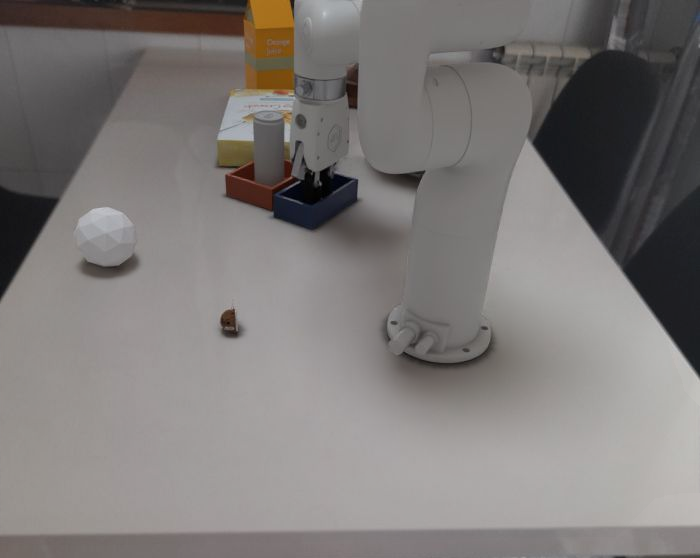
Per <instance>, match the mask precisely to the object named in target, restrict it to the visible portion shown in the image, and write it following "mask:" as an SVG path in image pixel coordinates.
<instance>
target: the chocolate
mask: <svg viewBox="0 0 700 558" xmlns="http://www.w3.org/2000/svg"><path fill="white" fill-rule="evenodd" d="M234 306H235V305H234V299H232V301H231V305H230V309H226V310H225V311H223V312H222V314H221V316H220V317H219V324H220V326H221V327H222V329H223V330H225V331H227V332H229V333H234V334H235V333H237V332H238V331H239V327H238V310H237V309H236V308H235V307H234Z"/></svg>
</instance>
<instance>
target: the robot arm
mask: <svg viewBox="0 0 700 558" xmlns="http://www.w3.org/2000/svg"><path fill="white" fill-rule="evenodd" d="M533 1H534V0H294V3H293V4H294V7H293V20H294V97H295V98H294V102H293V108H292V116H291V126H290V161H291V164H292V165H293V169H292V173H291V176H292V177H294V178H297V179H300V183H302V203H305V204H309V205H313V204H315V203H317V202H318V201H320V200H321V198H322V199H323V198H325V197H326V196H328V195H329V194H331V193H332V180H331V179H332V178H333V177H334V172H335V167H336V165H337V164H338V162H339V161H341V160H342V159H344V158H345V157H346V156H347V155H348V153H349V149H350V109H349V108H350V107H349V106H348V98H347V93H346V80H347V67H348V66H350V65H351V66H352V65H355V64H357V63H359V72H358V109H357V108H356V109H357V118H356V119H357V130H358V131H357V132H358V139H359V144H360V148H361V150H362V154H363V155H364V158H365V159H366V162H368V163H369V165H370V166H371V167H372V168H373V169H375V170H377V172H378V171H379V172H381V173H384V174H390V175H399V174H401V175H402V174H411V173H410V172H417V171H424V170H426V171H425V173H424V174H423V175H422V178H421V179H420V182H419V184H418V186H417V190H416V193H415V195H414V202H413V211H412V217H411V226H410V234H409V243H408V250H407V251H408V253H407V258H406V259H407V260H406V267H405V277H404V278H405V279H404V286H403V295H402V296H403V297H402V303H401V304H398V305H397V306H396V307H394V308H393V309H392V310H391V312H390V313H389V315H388V318H387V322H386V331H387V335H388V337H389V339H390V340H389V342H388V344H387V348H388V350H389V352H391V354H393V355H397V356H400V355H401V354H403V353H406V354H408V355H409V356H411V357H414V358H416V359H419V360H423V361H427V362H431V363H437V364H457V363H463V362H467V361H470V360H474V359H475V358H477V357H479V356H481V355H482V354H483V353H485V351H486V350H487V349H488V347H489V346H490V343H491V339H492V338H491V337H492V329H491V326H490V324H489V321H488V320H487V319H486V318H485V316H484V315H483V310H484V305H485V302H486V301H485V300H486V296H487V295H486V294H487V291H488V285H489V280H490V274H491V270H492V265H493V260H494V255H495V251H496V244H497V239H498V234H499V230H500V224H501V220H502V216H503V211H504V206H505V203H506V202H505V201H506V197H507V192H508V188H509V185H510V181H511V178H512V175H513V172H514V169H515V167H516V164H517V162H518V159H519V157H520V154H521V152H522V150H523V147H524V145H525V143H526V140H527V137H528V135H529V131H530V127H531V123H532V118H533V100H532V94H531V90H530V88H529V86H528V84H527V82H526V81H525V79H524V78H523V76H522V75H521V74H520V73H519V72H518V71H516V70H514V69H513V68H511V67H510V66H507V65H504V64H501V63H497V62H496V63H495V62H490V61H480V62H479V61H476V62H463V63H452V64H451V63H450V64H440V65H436V66H435V65H434V66H428V63H429V60H430V56H431V55H433V54H445V53H447V54H448V53H459V52H472V51H482V50H488V49H489V50H490V49H495V48H499V47H504V46H506V45H508V44H511V43H513V42H515V41H516V40H517V39H518V38H519V37H520V36H521V35H522V34H523V32H524V31H525V29H526V27H527V24H528V22H529V19H530V14H531V11H532V6H533ZM308 170H310V171H312V173H313V175H311V173H309V172H308ZM319 181H320V182H321V183H322V185H321V186H319Z"/></svg>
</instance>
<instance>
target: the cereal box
mask: <svg viewBox="0 0 700 558" xmlns="http://www.w3.org/2000/svg"><path fill="white" fill-rule="evenodd" d="M228 97H229V98H228V101H227V104H226V107H225V110H224V114H223V118H222V120H221V124H220V128H219V130H218V134H217V137H216V151H217V160H218V161H217V162H218V166H219V167H241V166H243V165H245V164H247V163H250V162H252V161H254V132H253V119H254V114H255V113H256V112H258V111H264V110H272V111H278V112H280V113H282V114H283V116H284V117H283V118H284V121H285V133H284V159H287V160H290V126H291V116H292V108H293V102H294V98H295V97H294V90H271V89H246V88H232V89H231V91H230V93H229V96H228Z"/></svg>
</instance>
